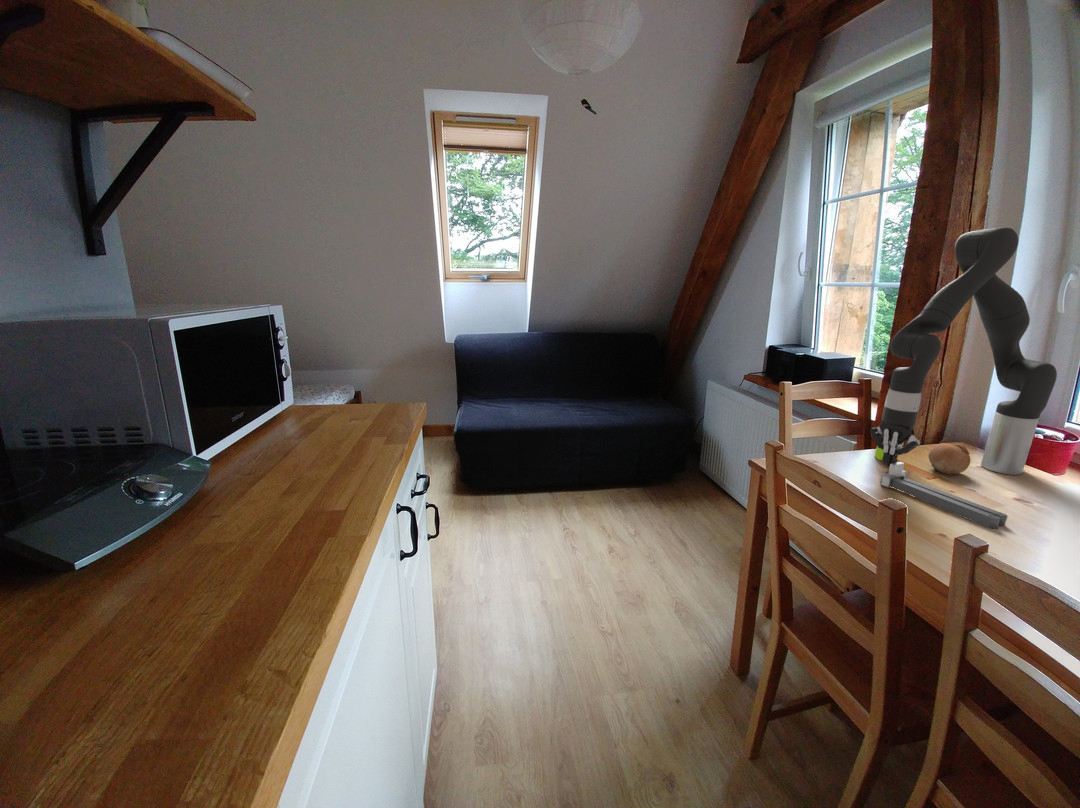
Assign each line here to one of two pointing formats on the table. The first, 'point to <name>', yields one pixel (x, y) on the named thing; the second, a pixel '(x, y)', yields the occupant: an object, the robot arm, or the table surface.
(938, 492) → the bar
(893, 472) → the rail slider block
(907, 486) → the base
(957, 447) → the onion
